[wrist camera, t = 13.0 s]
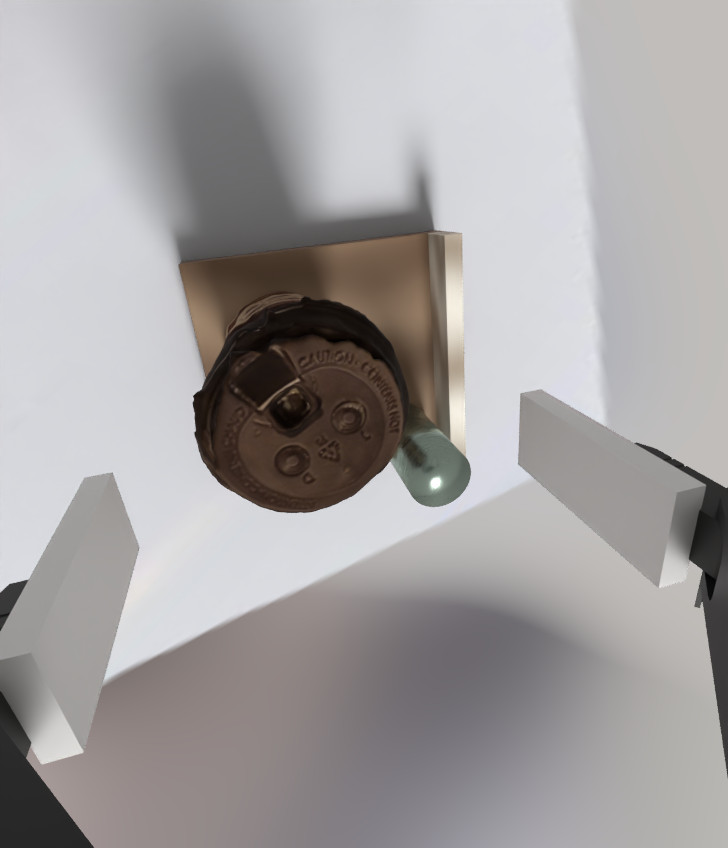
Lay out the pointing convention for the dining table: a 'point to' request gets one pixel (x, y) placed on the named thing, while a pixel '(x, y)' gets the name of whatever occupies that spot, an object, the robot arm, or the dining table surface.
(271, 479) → the coffee cup
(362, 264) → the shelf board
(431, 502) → the green cylinder
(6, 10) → the dining table surface
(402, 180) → the dining table surface
